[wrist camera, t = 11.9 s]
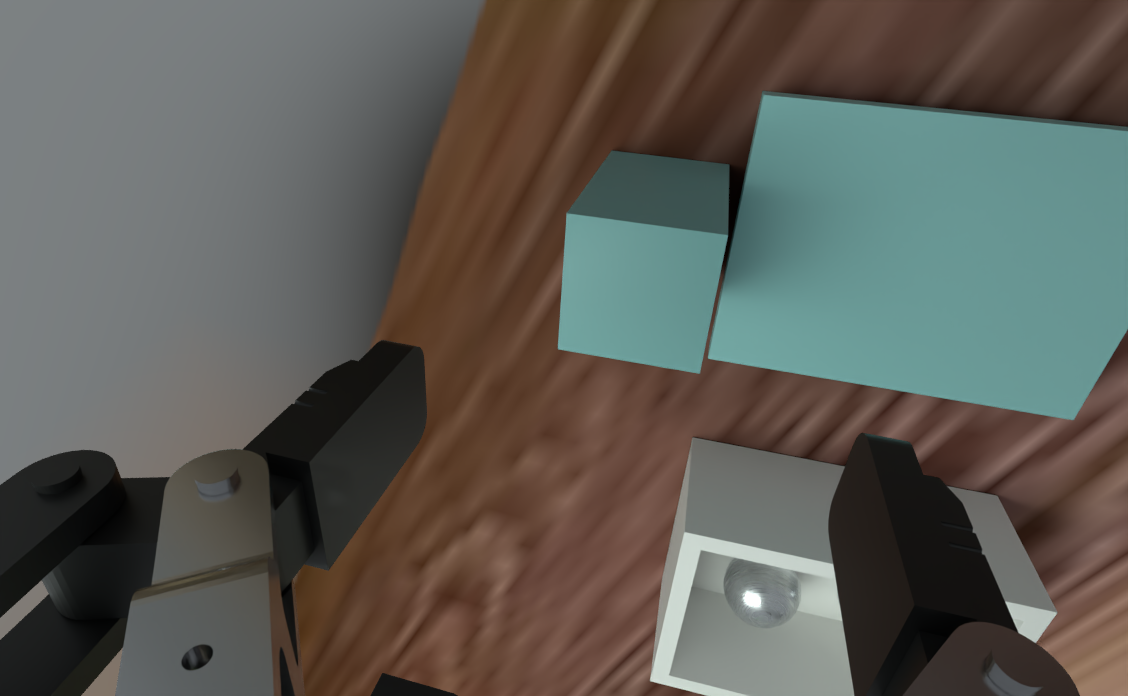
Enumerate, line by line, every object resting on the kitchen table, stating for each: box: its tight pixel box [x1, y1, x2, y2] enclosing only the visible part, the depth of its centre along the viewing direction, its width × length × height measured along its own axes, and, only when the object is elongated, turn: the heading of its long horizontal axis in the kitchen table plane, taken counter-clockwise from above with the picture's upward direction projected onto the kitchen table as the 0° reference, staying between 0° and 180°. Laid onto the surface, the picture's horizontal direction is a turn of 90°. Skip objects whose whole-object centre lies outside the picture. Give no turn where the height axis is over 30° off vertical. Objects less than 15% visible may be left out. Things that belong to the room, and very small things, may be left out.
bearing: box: [723, 558, 801, 628], centre depth 27 cm, size 3×3×3 cm
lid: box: [558, 91, 1128, 420], centre depth 19 cm, size 16×9×7 cm, turn 87°
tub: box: [650, 437, 1057, 696], centre depth 26 cm, size 12×9×6 cm
